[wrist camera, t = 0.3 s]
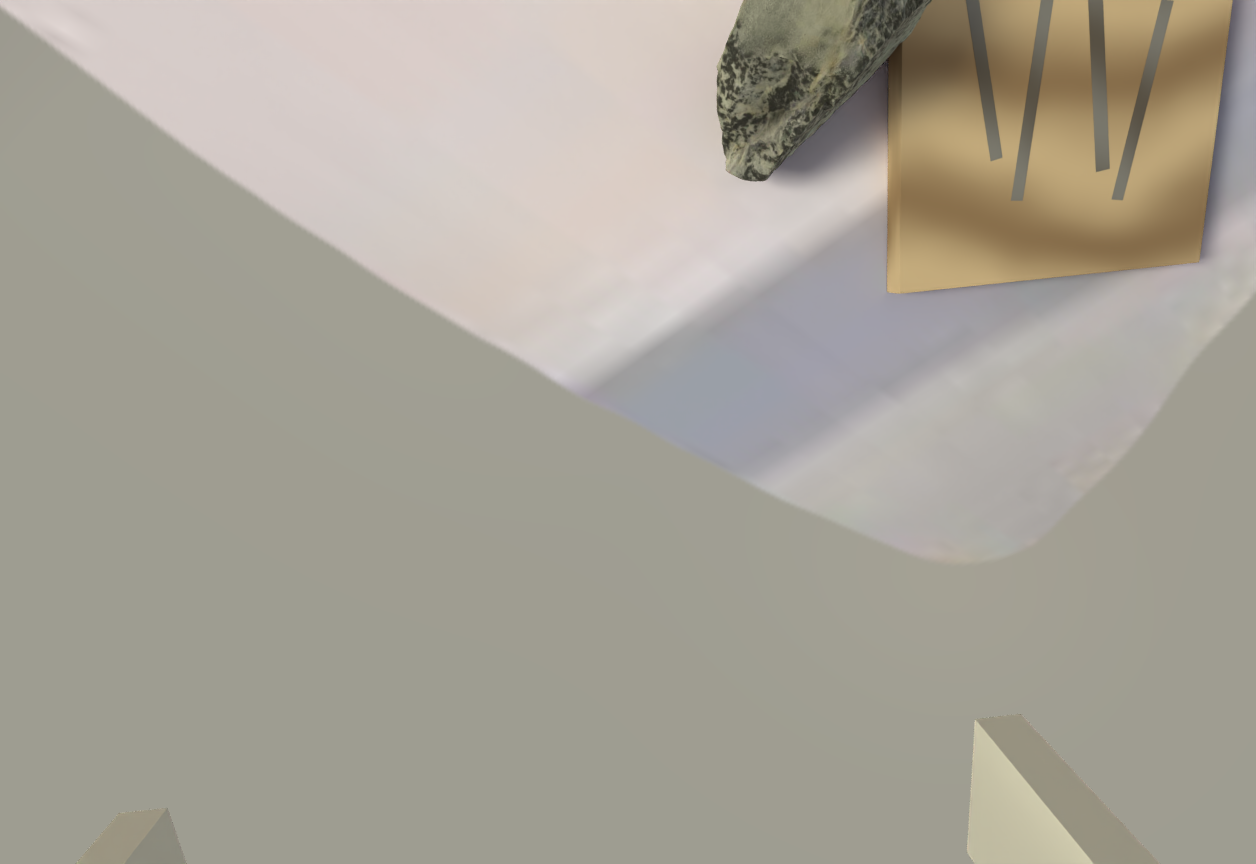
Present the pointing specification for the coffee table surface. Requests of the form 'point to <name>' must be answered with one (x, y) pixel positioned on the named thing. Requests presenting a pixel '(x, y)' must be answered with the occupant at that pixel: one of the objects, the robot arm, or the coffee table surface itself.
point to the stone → (798, 71)
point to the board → (1050, 138)
